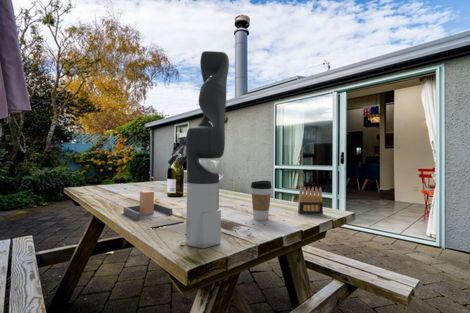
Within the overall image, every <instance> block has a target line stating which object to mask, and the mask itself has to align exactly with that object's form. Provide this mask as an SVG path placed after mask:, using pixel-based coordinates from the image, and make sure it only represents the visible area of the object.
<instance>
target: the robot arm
mask: <svg viewBox="0 0 470 313" xmlns="http://www.w3.org/2000/svg"><path fill="white" fill-rule="evenodd" d="M229 59H230V58H229V56H228V54H227V53H226V52H224V51H213V50H204V51H202V52H201V55H200V59H199V60H200V73H201V76H202V81H203V83H202V85H201V87H200V90H199V93H198V94H199V95H198V106H199V108H200V110H201V111H202V113H203V117H202V119H201V120H200V122H199V123H198V124H197V125H196V126H190V127H189V128H188V129H187V131H186V137H185V138H184V139H183V145H182V146H180V145H179V146H177V147H176V149H175V150H174V151H173V152H172V153H171V154H170V155H171V156H172V157H171V158H170V159H169V160H168V161H167V163H168V165H170V166H172V165H174V163H175V162H176V160H178V159H179V158H180V159H179V160H178V161H177V165H178V166H179V167H182V166H184V164H185V162H186V219H185V220H186V224H185V226H186V227H185V230H186V231H185V232H186V233H185V235H186V238H185V242H186V243H185V244H186V245H187V246H190V247H194V248H200V249H206V248H209V247H214V246H217V245H219V244H221V243H222V242H221V240H222V238H221V230H222V227H221V226H222V211H221V209H219V208H220V174H219V172H218V171H215V170H213V169H209V168H207V167H206V166H204V165H203V164H202V163H201V162H200V160H201V159H202V160H203V159H205V160H207V159H209V160H210V159H213V160H215V159H220V158H222V157H223V155H224V152H225V148H226V144H225V143H226V137H225V136H226V133H225V132H226V128H225V126H226V125H225V121H226V106H227V105H226V104H227V84H228V83H227V80H228V75H229V74H228V73H229V67H230V60H229ZM199 159H200V160H199Z"/></svg>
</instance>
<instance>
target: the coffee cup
mask: <svg viewBox="0 0 470 313" xmlns="http://www.w3.org/2000/svg"><path fill="white" fill-rule="evenodd" d="M272 187H273V186H272V182H271V180H258V181H251V185H250V189H251V202H252V213H253V214H252V215H253V217H252V218H253V220H256V221H266V220H268V219H269V212H270V202H271V196H272V195H271V191H272V190H271V189H272Z"/></svg>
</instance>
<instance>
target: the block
mask: <svg viewBox="0 0 470 313" xmlns="http://www.w3.org/2000/svg"><path fill="white" fill-rule="evenodd" d="M154 203H155V191H152V190H142V191H141V190H140V191H139V205H140V214H142V215H149V214H154Z"/></svg>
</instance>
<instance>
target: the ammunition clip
mask: <svg viewBox="0 0 470 313" xmlns="http://www.w3.org/2000/svg"><path fill="white" fill-rule="evenodd" d="M322 191H323V190H322V187H321V186H319V188H318V187H317V186H315V189H314V186H311V189H310V186H307V187H306V186H304V187H302V186H300V187H299V196H298V206H297V208H298V209H297V210H298V211H297V213H298V214H300V215H323V214H324V210H323V209H324V207H323V206H324V203H323V194H322V193H323V192H322ZM305 213H307V214H305Z"/></svg>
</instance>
